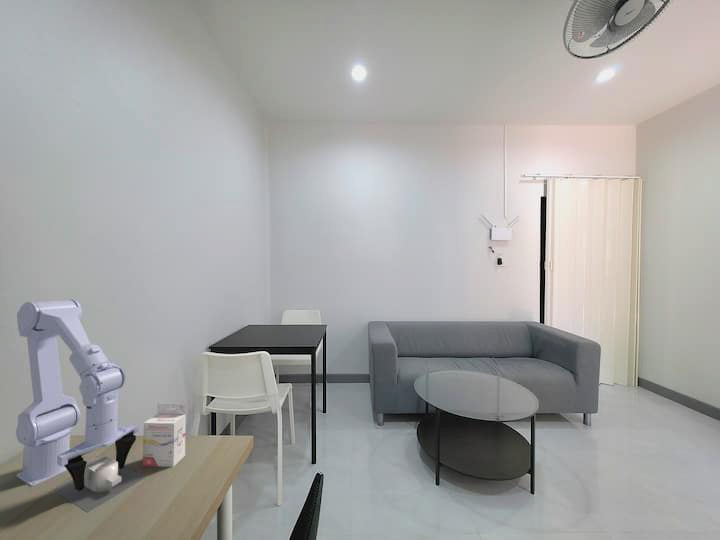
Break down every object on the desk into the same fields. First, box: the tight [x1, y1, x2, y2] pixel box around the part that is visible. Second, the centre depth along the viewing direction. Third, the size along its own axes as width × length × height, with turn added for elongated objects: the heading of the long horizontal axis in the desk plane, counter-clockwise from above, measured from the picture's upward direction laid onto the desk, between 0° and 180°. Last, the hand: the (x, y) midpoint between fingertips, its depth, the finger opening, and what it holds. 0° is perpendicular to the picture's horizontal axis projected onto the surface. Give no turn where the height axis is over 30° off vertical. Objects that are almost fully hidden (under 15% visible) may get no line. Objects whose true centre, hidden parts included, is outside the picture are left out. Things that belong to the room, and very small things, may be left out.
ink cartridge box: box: [142, 402, 187, 468], centre depth 73 cm, size 9×5×15 cm, turn 88°
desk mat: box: [52, 466, 147, 513], centre depth 65 cm, size 16×11×1 cm
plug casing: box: [84, 455, 122, 493], centre depth 65 cm, size 11×4×4 cm, turn 66°
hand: (100, 477), depth 65 cm, fingers open, 7 cm apart
